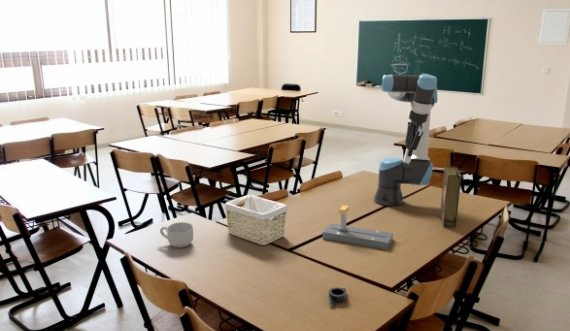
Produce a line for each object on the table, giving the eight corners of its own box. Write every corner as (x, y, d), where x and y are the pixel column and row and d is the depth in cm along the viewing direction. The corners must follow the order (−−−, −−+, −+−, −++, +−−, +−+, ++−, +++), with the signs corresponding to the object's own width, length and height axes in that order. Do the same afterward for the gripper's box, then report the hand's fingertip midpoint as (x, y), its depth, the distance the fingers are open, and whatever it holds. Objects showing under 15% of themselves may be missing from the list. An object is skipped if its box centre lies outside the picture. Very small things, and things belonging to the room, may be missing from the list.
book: (439, 215, 233) (444, 165, 226) (451, 216, 232) (456, 166, 225) (443, 227, 217) (448, 175, 211) (456, 228, 216) (461, 175, 210)
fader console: (392, 239, 204) (393, 232, 203) (387, 249, 194) (387, 242, 194) (330, 229, 215) (330, 223, 214) (322, 238, 205) (322, 231, 204)
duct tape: (318, 298, 158) (318, 290, 158) (342, 290, 163) (343, 283, 162) (331, 309, 152) (331, 301, 151) (356, 301, 156) (356, 293, 156)
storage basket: (224, 233, 211) (223, 201, 207) (249, 223, 222) (249, 193, 219) (263, 248, 196) (263, 214, 192) (289, 236, 207) (289, 204, 204)
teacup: (198, 241, 202) (197, 223, 200) (185, 251, 192) (184, 233, 190) (170, 237, 206) (169, 219, 204) (155, 247, 196) (154, 229, 194)
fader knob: (348, 227, 208) (349, 205, 206) (344, 232, 203) (345, 210, 200) (342, 226, 210) (342, 204, 207) (337, 231, 204) (338, 209, 202)
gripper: (406, 105, 207) (394, 155, 217) (416, 115, 195) (403, 167, 205) (422, 107, 208) (409, 156, 218) (433, 117, 197) (419, 168, 206)
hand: (406, 161), depth 212 cm, fingers closed
